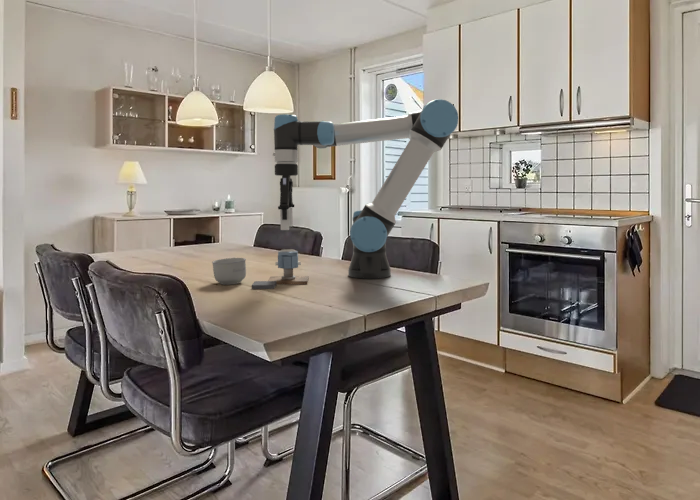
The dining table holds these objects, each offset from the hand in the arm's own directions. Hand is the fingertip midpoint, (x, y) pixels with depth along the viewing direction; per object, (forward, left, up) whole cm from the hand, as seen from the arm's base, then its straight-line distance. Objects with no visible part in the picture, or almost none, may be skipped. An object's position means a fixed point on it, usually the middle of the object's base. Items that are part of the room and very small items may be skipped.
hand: (286, 228), depth 178 cm
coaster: (+7, +9, -18) cm, 21 cm away
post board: (0, 0, -18) cm, 18 cm away
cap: (0, 0, -13) cm, 13 cm away
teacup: (+19, 0, -18) cm, 26 cm away
